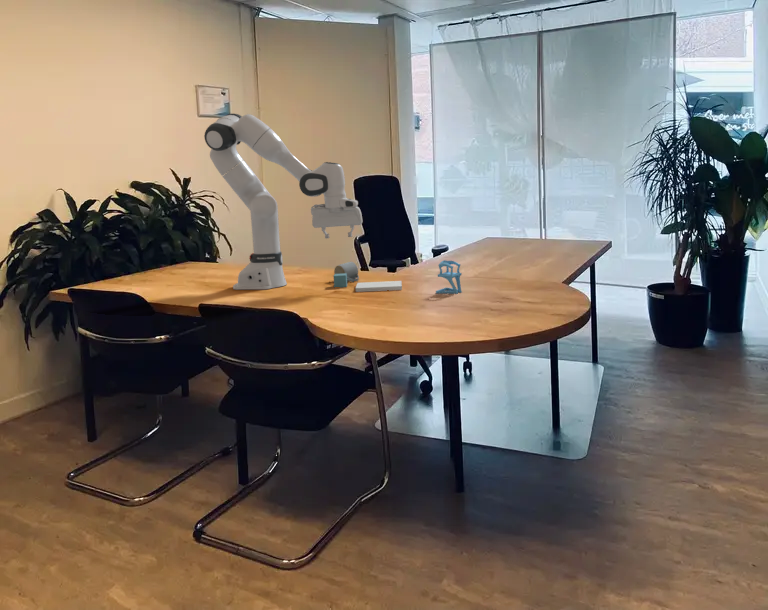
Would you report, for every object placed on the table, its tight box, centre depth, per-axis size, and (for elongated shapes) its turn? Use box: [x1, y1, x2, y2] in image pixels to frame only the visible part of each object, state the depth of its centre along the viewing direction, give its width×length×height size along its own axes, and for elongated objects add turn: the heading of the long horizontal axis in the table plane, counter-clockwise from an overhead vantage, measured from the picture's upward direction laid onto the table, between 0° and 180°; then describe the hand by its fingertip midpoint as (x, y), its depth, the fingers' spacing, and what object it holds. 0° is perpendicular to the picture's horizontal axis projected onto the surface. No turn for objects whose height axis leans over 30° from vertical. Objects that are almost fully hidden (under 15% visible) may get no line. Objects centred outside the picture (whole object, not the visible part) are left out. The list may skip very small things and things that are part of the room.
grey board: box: [355, 280, 403, 293], centre depth 258 cm, size 18×12×2 cm, turn 89°
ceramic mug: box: [333, 261, 360, 283], centre depth 279 cm, size 11×8×8 cm
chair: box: [435, 259, 463, 295], centre depth 241 cm, size 8×8×12 cm
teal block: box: [333, 273, 348, 288], centre depth 266 cm, size 5×5×5 cm
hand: (338, 237), depth 263 cm, fingers open, 8 cm apart
